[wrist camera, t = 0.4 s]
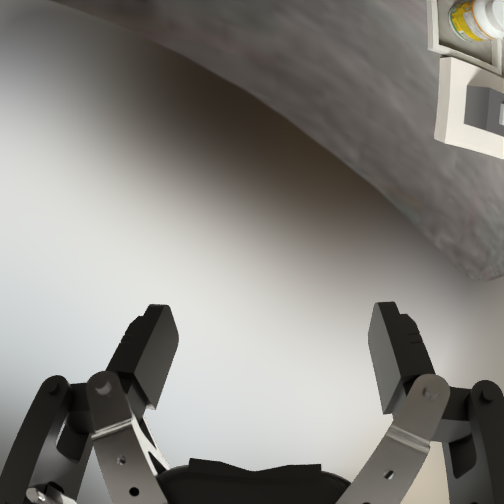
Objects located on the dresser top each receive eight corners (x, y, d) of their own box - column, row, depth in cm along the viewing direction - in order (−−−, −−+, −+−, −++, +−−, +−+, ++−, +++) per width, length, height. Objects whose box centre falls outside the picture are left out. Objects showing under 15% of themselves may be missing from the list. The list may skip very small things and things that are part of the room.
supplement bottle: (457, 44, 25) (499, 39, 16) (440, 8, 22) (479, -7, 14) (484, 40, 23) (527, 36, 15) (468, 5, 21) (508, -7, 12)
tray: (423, -25, 20) (428, -28, 19) (492, 4, 19) (497, 3, 18) (427, 49, 26) (433, 48, 25) (495, 74, 25) (501, 75, 24)
